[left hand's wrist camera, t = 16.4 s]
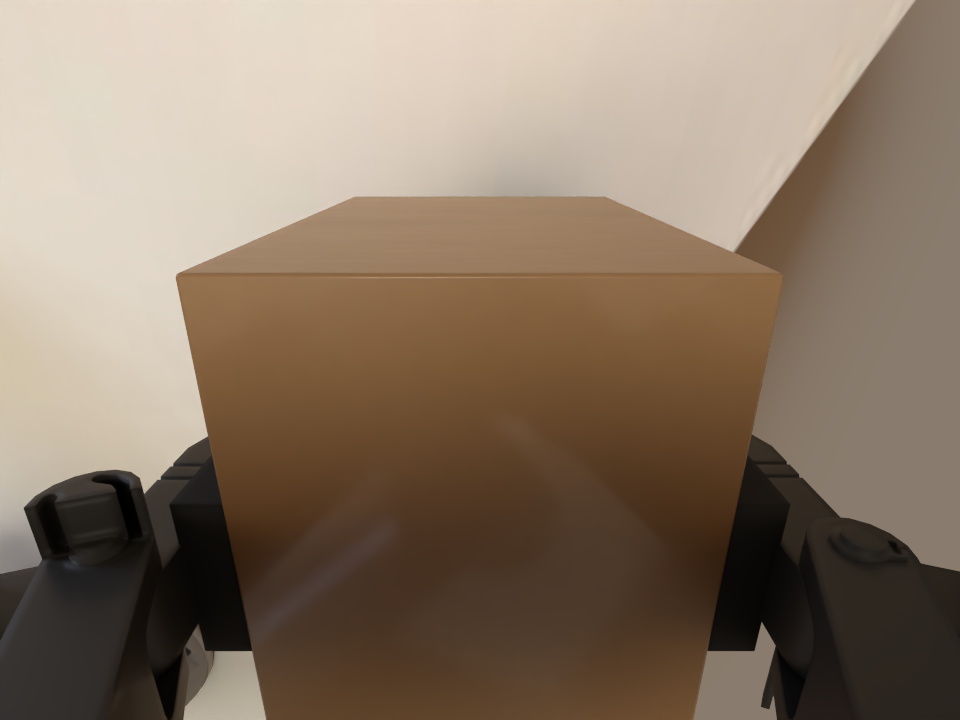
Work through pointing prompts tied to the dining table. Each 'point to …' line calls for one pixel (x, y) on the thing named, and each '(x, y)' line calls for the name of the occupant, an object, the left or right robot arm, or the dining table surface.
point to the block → (479, 453)
